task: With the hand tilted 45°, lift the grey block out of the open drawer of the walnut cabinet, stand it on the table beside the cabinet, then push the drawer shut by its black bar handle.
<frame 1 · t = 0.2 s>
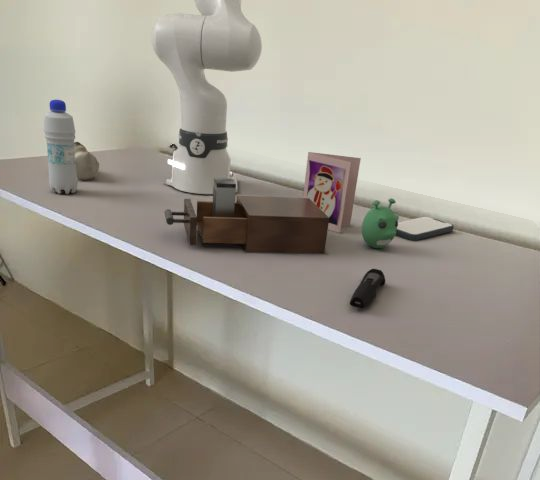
drawer: (213, 221, 118), point 4 cm above the table, slide at 9.5 cm, touching grey block
ceramic sculpture: (78, 176, 156), on the table
electric trimmer: (367, 297, 100), on the table
cabinet: (277, 240, 122), on the table
phone case: (418, 232, 138), on the table
alien toy: (376, 248, 124), on the table
greeting card: (327, 225, 137), on the table
grey block: (222, 229, 119), point 2 cm above the table, touching drawer
bottle: (64, 192, 141), on the table
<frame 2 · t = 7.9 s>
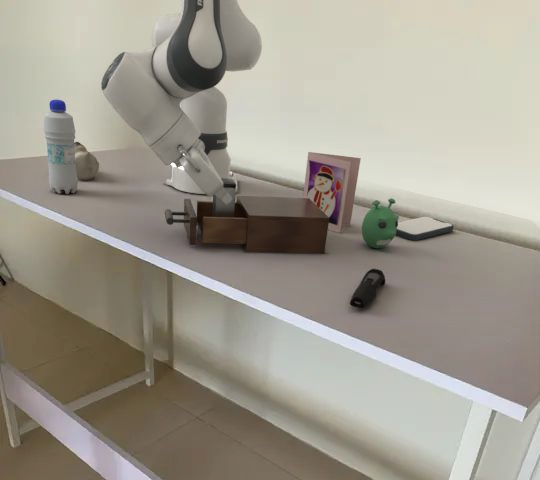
hand: (227, 197, 116), 8 cm above the table, tool tilted 45°, fingers closed on grey block, 4 cm apart
grey block: (222, 229, 119), point 2 cm above the table, touching drawer, gripper
everything else where it was.
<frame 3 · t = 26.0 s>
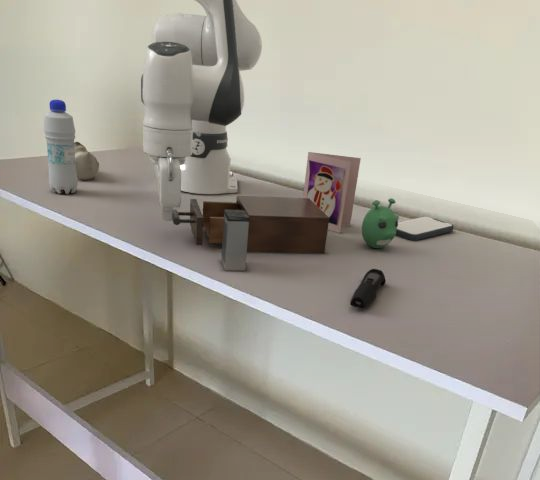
hand: (167, 218, 116), 4 cm above the table, tool pointing down, fingers closed, pressing on drawer
drawer: (219, 222, 118), point 4 cm above the table, slide at 8.3 cm, touching gripper
grey block: (233, 266, 107), on the table
everything else where it was.
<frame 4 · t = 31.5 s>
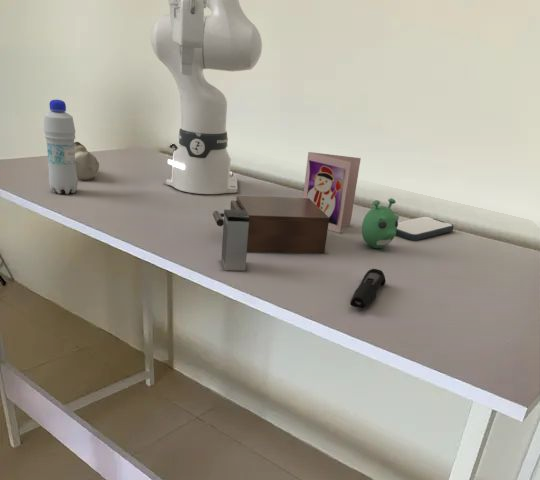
hand: (186, 74, 106), 29 cm above the table, tool pointing down, fingers closed
drawer: (260, 223, 120), point 4 cm above the table, slide at 0.0 cm
everything else where it was.
at the end: grey block inside the target area (0.2 cm from its centre), on the table; grey block tilted 0°; drawer slide at 0.0 cm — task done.
